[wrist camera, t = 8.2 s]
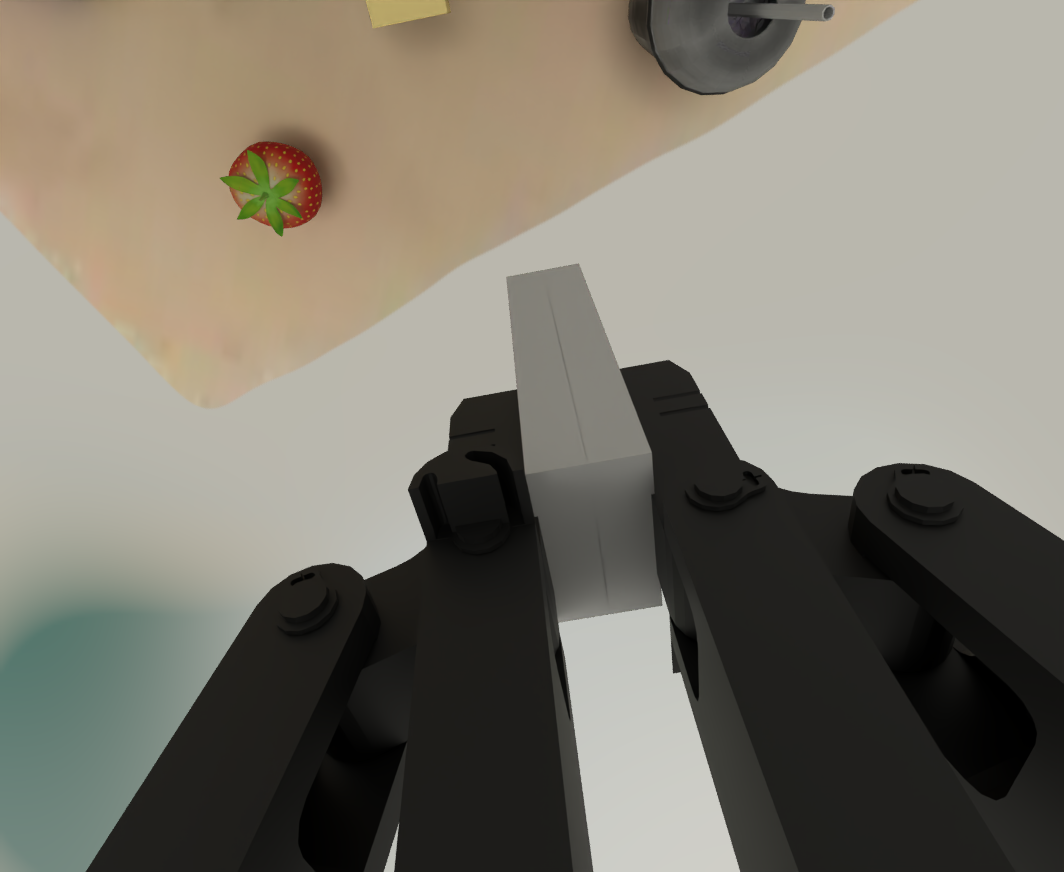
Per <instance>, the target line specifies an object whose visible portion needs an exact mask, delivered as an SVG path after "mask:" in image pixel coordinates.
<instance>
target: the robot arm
mask: <svg viewBox="0 0 1064 872" xmlns="http://www.w3.org/2000/svg"><path fill="white" fill-rule="evenodd" d="M507 288H508V298H509V309H510V319H511V329H512V340H513V351H514V362H515V373H516V383H517V390H511V391H505V392H500V393H494V394H489V395H483V396H478V397H472V398H467V399H463V401H462V402H461V404H460V405H459V406H458V408H457V409H456V411H455V412H454V414H453V415H452V416H451V419H450V433H449V438H450V440H449V445H448V451H447V452H444V453H443V454H441V455H439V456H437V457H435V458H434V459H432V460H430V461H428V462H427V463H426V464H425V465H424V466H423V467H422V468H421V469H420V470H419V471H418V472H417V473H416V474H415V475H414V477H413V479H412V481H411V484H410V486H409V488H408V491H409V494H410V497H411V500H412V502H413V505H414V507H415V510H416V513H417V516H418V519H419V521H420V524H421V527H422V529H423V532H424V535H425V538H426V541H427V546H426V547H425V548H424V549H423V550H422V551H421V552H419V553H418V554H417V555H415V556H414V557H413V558H411V559H409V560H408V561H406V562H404V563H402V564H400V565H398V566H396V567H394V568H392V569H389V570H387V571H385V572H382V573H380V574H377V575H375V576H373V577H370V578H368V579H366V580H364V579H363V577H362V576H361V575H360V574H359V573H358V572H356V571H355V570H354V569H353V568H352V567H350V566H345V565H340V564H335V563H330V564H322V565H316V566H311V567H309V568H306V569H304V570H301V571H299V572H296V573H294V574H292V575H290V576H288V577H287V578H286V579H284V580H283V581H282V582H280V583H279V584H277V585H276V586H274V587H273V588H272V589H271V590H270V591H269V592H268V593H267V594H266V596H265V597H264V598H263V599H262V600H261V601H260V602H259V604H258V605H257V606H256V608H255V609H254V611H253V612H252V614H251V615H250V617H249V618H248V620H247V622H246V623H245V625H244V626H243V628H242V629H241V631H240V632H239V634H238V636H237V637H236V639H235V640H234V642H233V643H232V645H231V647H230V648H229V650H228V651H227V653H226V654H225V656H224V657H223V659H222V660H221V662H220V664H219V665H218V667H217V668H216V670H215V671H214V673H213V674H212V676H211V678H210V679H209V681H208V682H207V684H206V685H205V687H204V689H203V690H202V692H201V693H200V695H199V696H198V698H197V699H196V701H195V702H194V704H193V706H192V707H191V709H190V710H189V712H188V714H187V715H186V716H185V718H184V720H183V721H182V723H181V724H180V726H179V727H178V729H177V731H176V732H175V734H174V735H173V737H172V738H171V740H170V741H169V743H168V745H167V746H166V748H165V749H164V751H163V752H162V754H161V755H160V757H159V759H158V760H157V762H156V763H155V765H154V766H153V768H152V770H151V771H150V773H149V774H148V776H147V777H146V779H145V781H144V782H143V784H142V785H141V787H140V788H139V790H138V791H137V793H136V794H135V796H134V797H133V799H132V801H131V802H130V804H129V806H128V807H127V808H126V810H125V812H124V813H123V815H122V816H121V818H120V819H119V821H118V822H117V824H116V826H115V827H114V829H113V830H112V832H111V833H110V835H109V836H108V838H107V840H106V841H105V843H104V844H103V846H102V847H101V849H100V850H99V852H98V854H97V855H96V857H95V858H94V860H93V861H92V863H91V864H90V866H89V868H88V869H87V871H86V872H384V869H385V866H386V862H387V859H388V856H389V853H390V849H391V846H392V843H393V840H394V837H395V833H396V830H397V827H398V824H399V830H398V840H397V851H396V860H395V870H394V872H593V866H592V859H591V851H590V843H589V836H588V829H587V822H586V814H585V806H584V799H583V791H582V783H581V776H580V768H579V761H578V753H577V746H576V738H575V730H574V723H573V715H572V708H571V700H570V693H569V685H568V678H567V670H566V663H565V656H564V651H563V647H562V642H561V638H560V633H559V625H558V623H559V622H565V621H570V620H577V619H583V618H589V617H595V616H602V615H608V614H614V613H619V612H625V611H632V610H638V609H644V608H650V607H656V606H662V594H661V588H662V591H663V595H664V597H665V601H666V604H667V607H668V610H669V614H670V631H671V647H672V663H673V673H678V672H681V674H682V678H683V681H684V684H685V688H686V691H687V694H688V698H689V701H690V704H691V708H692V711H693V715H694V718H695V721H696V725H697V728H698V731H699V734H700V738H701V741H702V744H703V748H704V751H705V755H706V758H707V761H708V765H709V768H710V771H711V775H712V778H713V782H714V785H715V788H716V792H717V795H718V798H719V802H720V805H721V808H722V812H723V815H724V818H725V822H726V825H727V828H728V832H729V835H730V838H731V842H732V845H733V848H734V852H735V855H736V859H737V862H738V865H739V869H740V872H1064V541H1063V540H1062V539H1061V538H1059V537H1057V536H1056V535H1054V534H1053V533H1051V532H1050V531H1048V530H1047V529H1045V528H1043V527H1042V526H1041V525H1039V524H1037V523H1036V522H1034V521H1033V520H1031V519H1030V518H1028V517H1027V516H1025V515H1024V514H1022V513H1021V512H1019V511H1017V510H1015V509H1014V508H1013V507H1011V506H1010V505H1008V504H1006V503H1005V502H1004V501H1002V500H1001V499H999V498H997V497H996V496H994V495H993V494H991V493H990V492H988V491H987V490H985V489H984V488H982V487H980V486H979V485H977V484H976V483H974V482H972V481H970V480H968V479H966V478H964V477H962V476H960V475H958V474H956V473H954V472H952V471H949V470H945V469H941V468H937V467H933V466H929V465H925V464H905V463H903V464H902V463H897V464H892V465H887V466H882V467H877V468H875V469H873V470H872V471H870V472H869V473H867V474H865V475H863V476H862V477H861V478H860V480H859V482H858V483H857V485H856V487H855V489H854V492H853V496H841V495H821V494H807V493H800V492H792V491H788V490H785V489H781V488H778V487H777V485H776V484H775V482H774V481H773V480H772V479H771V478H770V477H769V476H768V475H767V474H766V473H765V472H764V471H763V470H762V469H760V468H758V467H756V466H754V465H752V464H750V463H748V462H746V461H742V460H740V459H739V457H738V456H737V454H736V452H735V451H734V449H733V447H732V445H731V444H730V442H729V440H728V438H727V437H726V435H725V433H724V431H723V430H722V428H721V426H720V425H719V423H718V421H717V419H716V418H715V416H714V414H713V412H712V411H711V409H710V408H708V404H707V402H706V400H705V399H704V397H703V395H702V394H700V390H699V388H698V386H697V385H696V383H695V381H694V379H693V378H692V376H691V374H690V373H689V372H687V371H686V370H684V369H683V368H681V367H679V366H678V365H676V364H674V363H673V362H671V361H670V360H666V361H661V362H655V363H650V364H644V365H638V366H633V367H627V368H622V369H619V367H618V364H617V361H616V359H615V356H614V354H613V351H612V348H611V346H610V343H609V341H608V338H607V335H606V333H605V330H604V328H603V325H602V323H601V320H600V317H599V315H598V312H597V310H596V307H595V304H594V302H593V299H592V297H591V294H590V292H589V289H588V286H587V284H586V281H585V279H584V276H583V273H582V271H581V268H580V266H579V264H574V265H569V266H563V267H558V268H552V269H547V270H542V271H536V272H531V273H526V274H520V275H515V276H510V277H507Z"/></svg>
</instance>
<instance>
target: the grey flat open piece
mask: <svg viewBox="0 0 1064 872" xmlns="http://www.w3.org/2000/svg"><path fill="white" fill-rule="evenodd" d="M366 3H367V7H368V11H369V15H370V19H371V22H372V26H373V28H378V27H382V26H387V25H392V24H397V23H402V22H407V21H412V20H417V19H421V18H426V17H431V16H436V15H441V14H446V13H451V11H450V6H449V1H448V0H366Z"/></svg>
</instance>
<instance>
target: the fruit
mask: <svg viewBox="0 0 1064 872" xmlns="http://www.w3.org/2000/svg"><path fill="white" fill-rule="evenodd" d="M220 179H221V180H222V181H223V182H224V183H226V184H227V185H228V186H229V187H230V191H231V193H232V196H233V198H234V200H235V202H236V203H237V205H238V206H239V207H240V208H241V209H242V210H241V212H240V214H239V216H238V218H237V219H247V218H249V217H251V218H253V219H255V220H257V221H259V222H261V223H263V224H266V225H268V226H272V227H273V229H274V230H275V232H276V233H277V234H278V235H280V236H283V228H292V227H296V226H300V225H302V224H304V223H306V222H308V221H310V220H311V219H312V218H313V217H314V216H316V214H317V212H318V210H319V208H320V206H321V201H322V185H321V179H320V176H319V173H318V171H317V169H316V167H315V165H314V163H313V162H312V161H311V159H310V158H309V157H308V156H307V155H306V154H304V153H303V152H302V151H300V150H298V149H296V148H294V147H292V146H289V145H286V144H282V143H277V142H258V143H256V144H253V145H251V146H249V147H248V148H246V149H245V150H244V151H243V152H242V153H241V154H240V155H239V156H238V157H237V159H236V160H235V161H234V163H233V164H232V166H231V169H230V171H229V176H226V177H221V178H220Z"/></svg>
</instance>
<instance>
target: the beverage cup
mask: <svg viewBox="0 0 1064 872" xmlns="http://www.w3.org/2000/svg"><path fill="white" fill-rule="evenodd" d="M805 1H806V0H630V3H629V16H628V18H629V23H630V27H631V31H632V33H633V34H634V36H635V38H636V40H637V41H638V42H639V44H640V45H641V46H642V47H643V48H644V49H646V50H647V51H648V52H649V53H650V54H652V55H653V56H654V57H655V58H656V60H657V62H658V64H659V66H660V67H661V69H662V71H663V73H664V74H665V75H666V76H667V77H669V78H670V79H671V80H672V81H673V82H674V83H675V84H677V85H678V86H679V87H680V88H682V89H685V90H688V91H691V92H693V93H696V94H699V95H717V94H725V93H728V92H730V91H733V90H735V89H738V88H740V87H743V86H745V85H748V84H750V83H753V82H755V81H756V80H757V79H759V78H760V77H761V76H762V75H764V74H765V73H766V72H768V71H769V70H770V69H771V68H773V67H774V66H775V64H776V63H777V62H778V61H779V59H780V58H781V57H782V55H783V54H784V53H785V51H786V50H787V49H788V47H789V46H790V45H791V43H792V41H793V39H794V37H795V34H796V32H797V30H798V28H799V25H800V23H801V21H802V20H810V21H828V20H831V18H832V17H833V15H834V11H835V8H834V7H833V6H832V5H823V4H805Z"/></svg>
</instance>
